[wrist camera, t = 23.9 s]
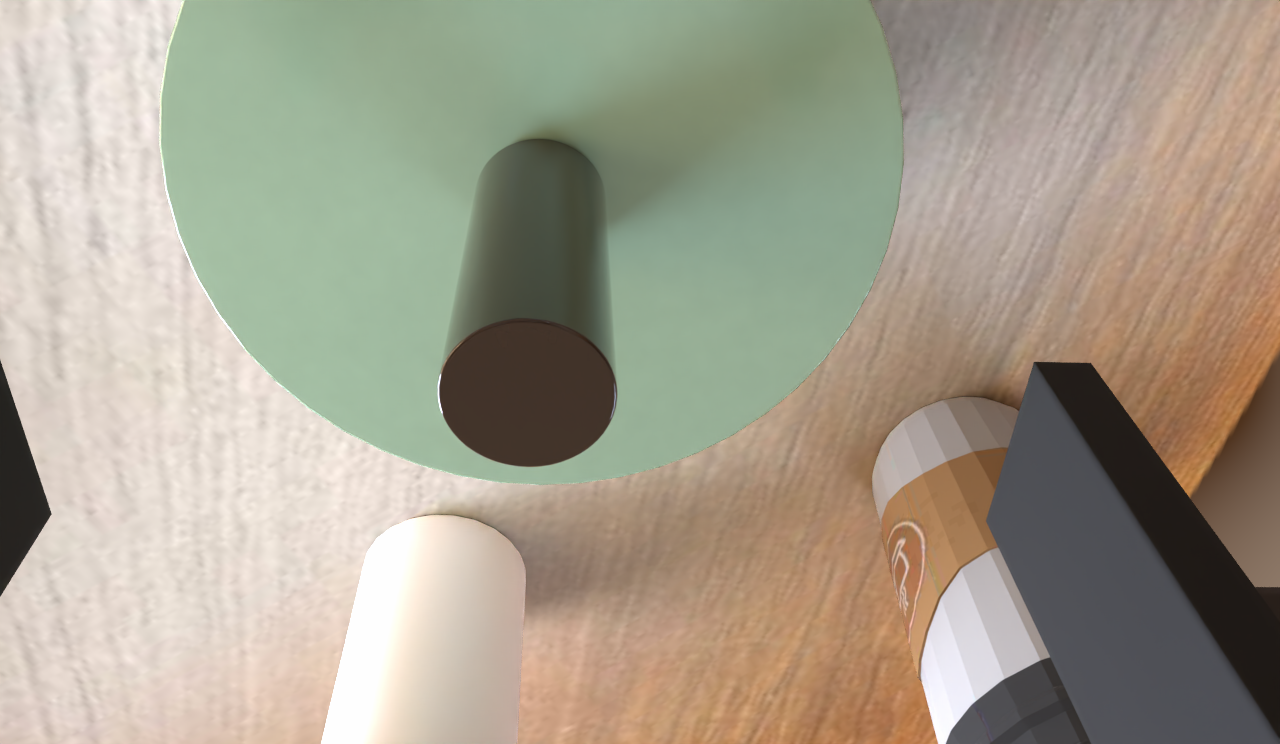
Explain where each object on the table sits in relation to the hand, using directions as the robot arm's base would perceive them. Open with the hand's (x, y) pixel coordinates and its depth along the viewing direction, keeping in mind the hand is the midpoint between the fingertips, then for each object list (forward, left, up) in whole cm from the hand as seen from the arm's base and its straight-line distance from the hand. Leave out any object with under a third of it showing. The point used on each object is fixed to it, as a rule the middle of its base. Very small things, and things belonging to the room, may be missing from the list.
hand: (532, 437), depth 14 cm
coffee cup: (+15, +15, -20) cm, 29 cm away
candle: (+21, -4, -20) cm, 29 cm away
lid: (0, 0, -9) cm, 9 cm away
